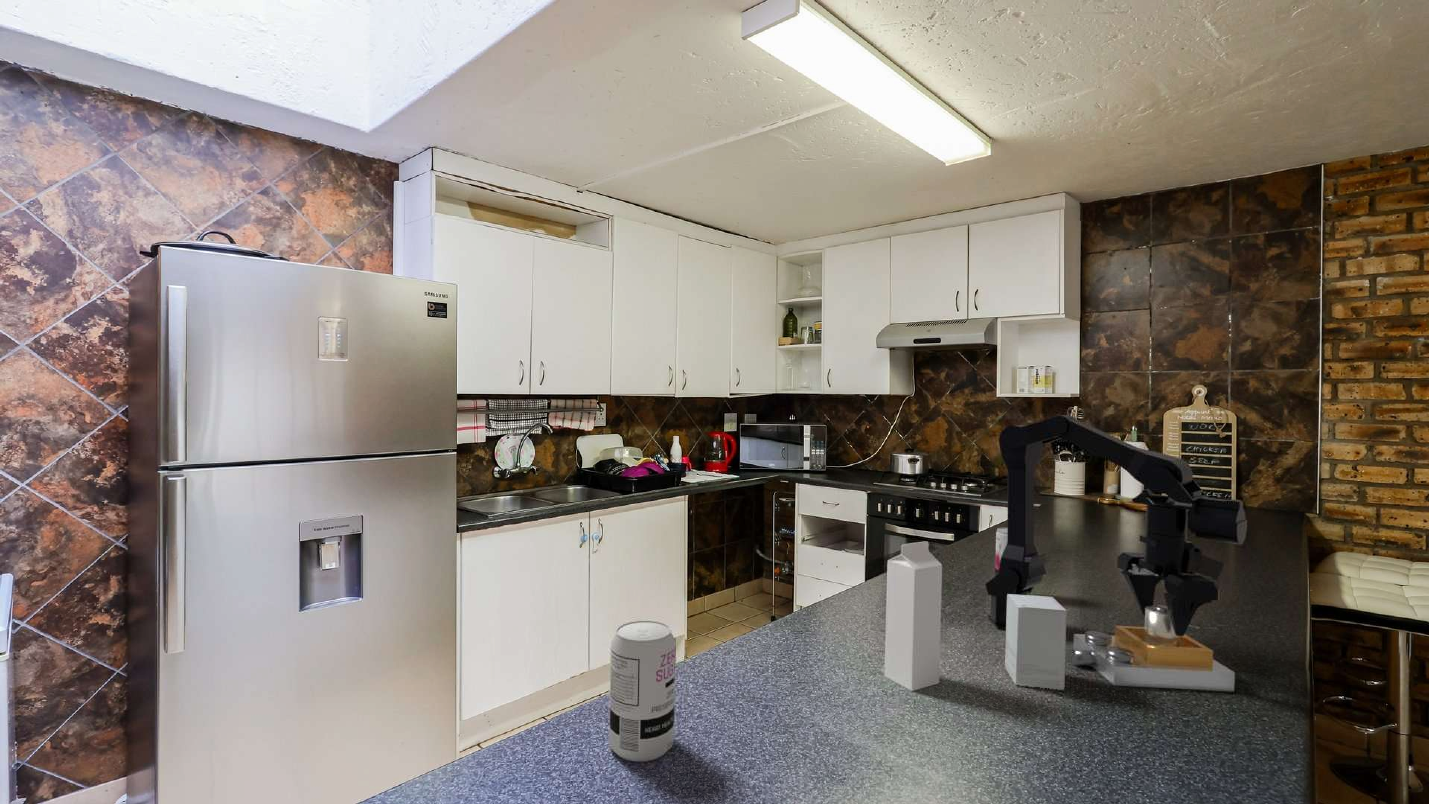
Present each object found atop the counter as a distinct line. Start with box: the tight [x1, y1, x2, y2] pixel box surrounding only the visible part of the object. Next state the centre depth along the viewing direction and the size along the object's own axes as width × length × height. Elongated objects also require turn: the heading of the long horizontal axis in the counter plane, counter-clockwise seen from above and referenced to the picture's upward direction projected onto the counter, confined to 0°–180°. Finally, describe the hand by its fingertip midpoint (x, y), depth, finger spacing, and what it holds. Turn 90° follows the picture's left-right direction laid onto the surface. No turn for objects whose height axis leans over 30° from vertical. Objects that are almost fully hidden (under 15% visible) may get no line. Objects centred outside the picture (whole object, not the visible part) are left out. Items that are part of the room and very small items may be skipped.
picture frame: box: [1070, 625, 1236, 692], centre depth 112 cm, size 21×14×6 cm, turn 86°
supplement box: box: [1004, 594, 1068, 691], centre depth 107 cm, size 7×7×13 cm
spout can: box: [1144, 604, 1194, 647], centre depth 111 cm, size 7×5×8 cm
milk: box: [884, 541, 943, 692], centre depth 105 cm, size 6×6×22 cm
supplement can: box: [608, 620, 677, 763], centre depth 85 cm, size 8×8×15 cm
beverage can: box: [994, 527, 1008, 577], centre depth 150 cm, size 6×7×15 cm
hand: (1162, 625), depth 111 cm, fingers open, 9 cm apart
